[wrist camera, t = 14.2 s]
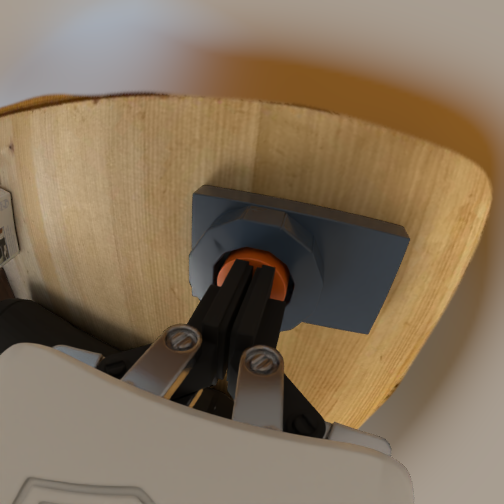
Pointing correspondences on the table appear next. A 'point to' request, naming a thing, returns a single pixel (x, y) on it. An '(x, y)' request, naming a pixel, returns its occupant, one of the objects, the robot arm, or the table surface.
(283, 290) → the button
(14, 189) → the table surface
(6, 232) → the light bulb box
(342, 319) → the panel
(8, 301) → the portable speaker
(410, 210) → the table surface
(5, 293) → the chest
